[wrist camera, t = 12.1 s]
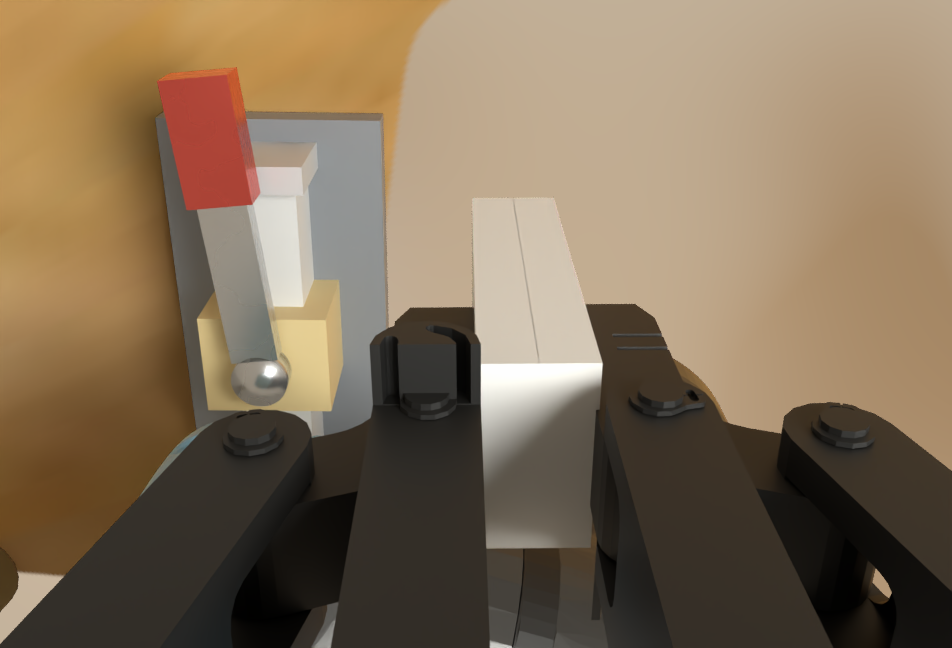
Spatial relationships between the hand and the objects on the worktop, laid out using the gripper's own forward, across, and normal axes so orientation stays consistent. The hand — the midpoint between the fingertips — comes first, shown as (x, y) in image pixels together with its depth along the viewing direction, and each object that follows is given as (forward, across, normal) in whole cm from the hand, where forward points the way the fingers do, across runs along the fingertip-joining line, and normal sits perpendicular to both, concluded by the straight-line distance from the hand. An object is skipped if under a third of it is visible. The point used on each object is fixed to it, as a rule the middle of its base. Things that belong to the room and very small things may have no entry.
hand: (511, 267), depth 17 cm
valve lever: (+20, -10, -7) cm, 24 cm away
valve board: (+26, -10, -13) cm, 31 cm away
